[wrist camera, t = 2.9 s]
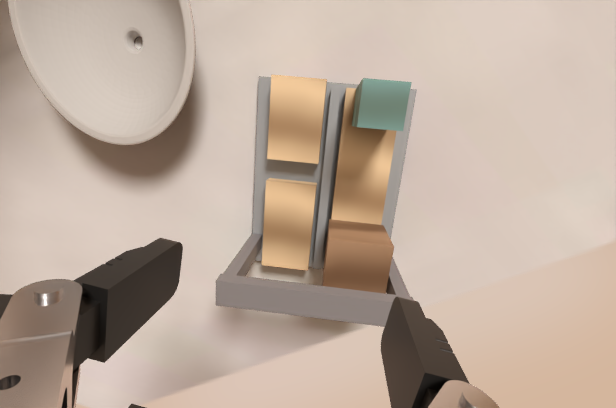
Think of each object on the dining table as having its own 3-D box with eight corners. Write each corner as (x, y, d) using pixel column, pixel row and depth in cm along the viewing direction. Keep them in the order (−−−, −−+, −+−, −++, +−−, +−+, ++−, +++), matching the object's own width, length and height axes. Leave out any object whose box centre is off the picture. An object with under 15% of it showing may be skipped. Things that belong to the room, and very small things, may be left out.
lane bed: (260, 77, 27) (217, 50, 17) (414, 90, 27) (465, 70, 16) (252, 257, 32) (215, 320, 22) (383, 272, 31) (407, 344, 21)
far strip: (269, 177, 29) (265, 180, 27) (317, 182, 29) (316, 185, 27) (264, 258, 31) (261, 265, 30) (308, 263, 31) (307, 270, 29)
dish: (235, 131, 29) (215, 132, 24) (99, 150, 30) (55, 156, 26) (192, -90, 24) (158, -142, 20) (36, -54, 26) (-31, -93, 21)
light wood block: (274, 77, 26) (271, 74, 25) (326, 81, 26) (326, 79, 25) (270, 156, 28) (267, 158, 27) (319, 161, 28) (318, 164, 27)
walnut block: (329, 219, 28) (328, 239, 23) (383, 225, 28) (394, 246, 23) (323, 267, 29) (321, 296, 24) (375, 273, 29) (383, 304, 24)
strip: (345, 89, 26) (350, 77, 19) (398, 94, 26) (424, 83, 19) (325, 265, 31) (323, 309, 24) (370, 270, 31) (382, 316, 23)
